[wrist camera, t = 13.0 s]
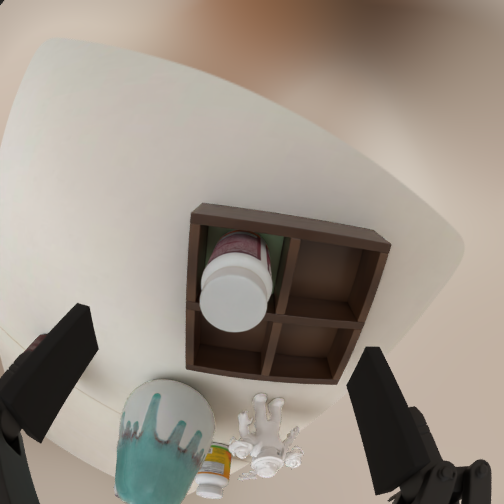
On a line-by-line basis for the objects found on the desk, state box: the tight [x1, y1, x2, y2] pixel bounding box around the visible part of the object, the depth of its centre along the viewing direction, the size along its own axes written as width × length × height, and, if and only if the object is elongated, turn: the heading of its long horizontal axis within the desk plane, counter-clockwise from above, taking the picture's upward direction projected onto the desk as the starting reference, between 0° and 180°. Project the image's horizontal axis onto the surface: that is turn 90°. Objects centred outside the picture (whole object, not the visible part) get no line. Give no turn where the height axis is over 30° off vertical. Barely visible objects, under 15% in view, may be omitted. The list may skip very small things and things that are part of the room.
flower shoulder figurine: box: [228, 393, 304, 481], centre depth 26 cm, size 9×4×12 cm, turn 63°
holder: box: [186, 203, 391, 385], centre depth 24 cm, size 15×15×4 cm
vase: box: [115, 379, 215, 504], centre depth 23 cm, size 12×12×18 cm
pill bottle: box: [200, 230, 273, 332], centre depth 20 cm, size 5×5×8 cm
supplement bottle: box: [195, 443, 231, 499], centre depth 32 cm, size 5×5×10 cm
